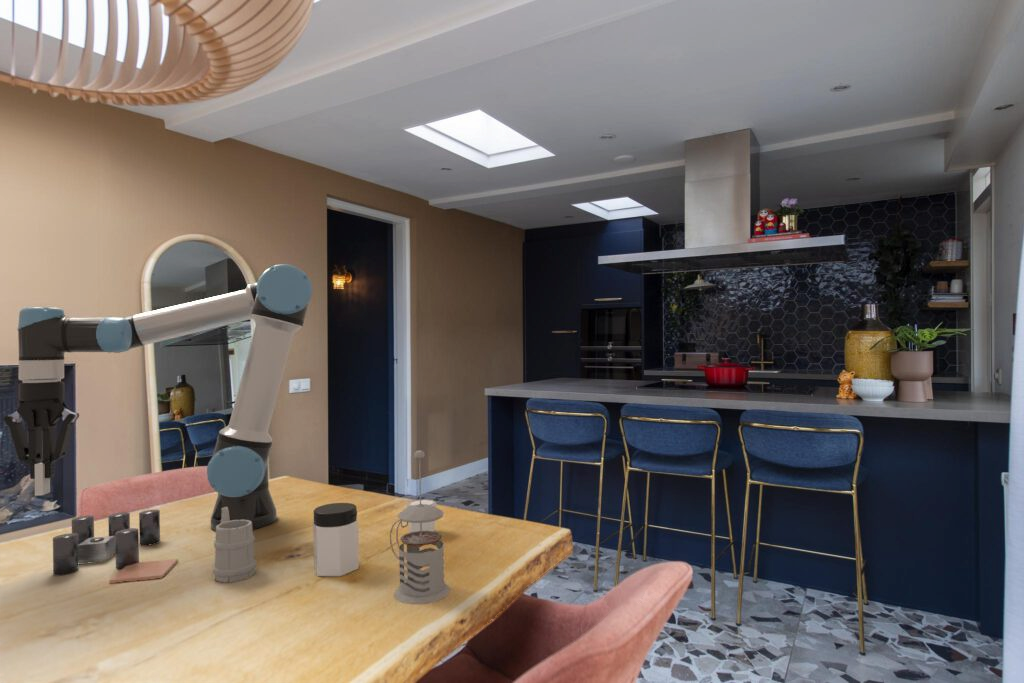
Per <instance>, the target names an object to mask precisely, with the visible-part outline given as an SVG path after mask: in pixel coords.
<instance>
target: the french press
mask: <svg viewBox="0 0 1024 683" xmlns="http://www.w3.org/2000/svg"><path fill="white" fill-rule="evenodd" d="M425 453H426V452H424V451H423V450H418V449H417V450H416V451H415V452H414V453H413V457H414V458H417V459H418V465H419V466H418V467H419V468H418V469H419V470H418V473H419V475H418V476H419V479H418V480H419V500H420V504H418V505H413V506H411V507H408V508H407V507H406V508H404V509H402V510H401V511H400V512H398V514H397V516H396V517H397V518H398V520H397V521H395V522H394V523H393V524H392V526H391V527H390V528H391V529H390V532H389V544H390V548H391V551H392V553H393V555H394V557H396V559H397V560H399V562H398V565H399V566H398V568H399V570H398V572H399V587H397V589H396V590H395V592H394V596H393V597H394V598H395V599H396V601H397V600H398V601H399V602H402V603H405V604H410V605H422V604H424V605H425V604H429V603H434V602H438V601H439V600H441V599H444V598H446V597H447V596H448V595H449V594H450V592H451V588H450V586H448V585H447V584H446V583H445V580H444V579H445V573H444V572H445V566H444V564H445V560H444V555H445V554H444V542H442V541H441V539H442V536H443V535H442V534H441V533H439V532H437V531H433V532H432V531H422V523H426V522H432V521H435V522H436V521H438V520H440V519H442V518H443V516H444V513H445V512H444V511H443V510H442V509H440V508H439V507H437V506H436V507H435V506H432V505H427V504H421V500H422V486H421V484H422V482H421V480H422V478H421V475H422V474H421V458H424V457H425V455H426V454H425ZM403 522H405V523H406V524H405V525H403ZM409 522H410V523H420V531H414V532H410V531H409V532H408V533H405V534H403V535H402V536H401V537H400V541H401V542H402V543H401V544H399V538H398V537H399V534H398V532H399V527H401V528H402V529H404V528H406V527H408V526H409ZM397 523H398V524H397ZM396 524H397V526H396V532H395V533H396V537H395V538H396V539H395V540H396V543H397V547H398V555H397V553H396V552H395V551H394V548H393V544H392V533H393V529H394V527H395V525H396ZM405 545H406V552H405ZM429 545H432V546H435V547H436V548H437V549H436V548H432V547H427V548H423V549H421V550H420V548H421V547H423V546H429ZM405 560H406V562H405ZM424 567H428V568H426V569H423V568H424ZM405 568H406V569H405ZM405 575H406V576H405Z"/></svg>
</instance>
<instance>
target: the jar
mask: <svg viewBox="0 0 1024 683" xmlns="http://www.w3.org/2000/svg"><path fill="white" fill-rule="evenodd" d="M312 523H313V526H312V528H313V564H314V567H313V568H314V570H315V573H316V576H317V577H342V576H344V575H347V574H350V573H352V572H355V571H357V570H359V567H360V562H359V561H360V559H359V558H360V556H359V553H360V552H359V521H358V510H357V505H356V504H354V503H351V502H333V503H328V504H327V503H326V504H323V505H320V506H317V507H315V508H314V510H313V522H312Z"/></svg>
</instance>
